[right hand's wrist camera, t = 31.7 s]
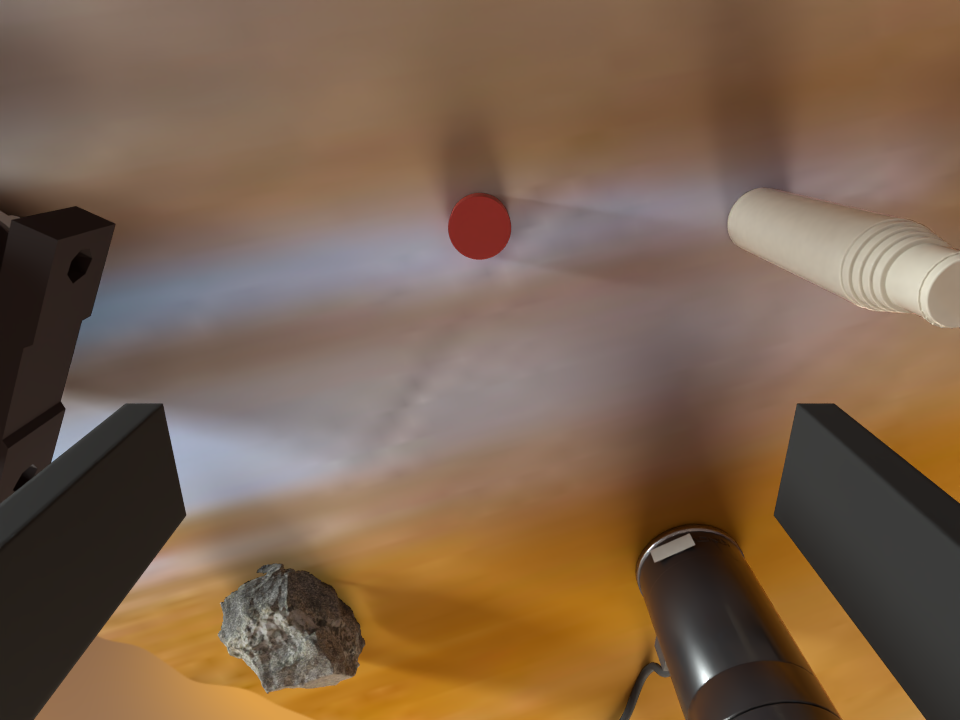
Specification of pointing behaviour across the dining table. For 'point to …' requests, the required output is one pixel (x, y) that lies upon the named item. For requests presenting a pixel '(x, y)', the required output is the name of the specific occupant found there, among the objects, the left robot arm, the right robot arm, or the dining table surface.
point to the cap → (479, 226)
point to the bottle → (852, 253)
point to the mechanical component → (42, 328)
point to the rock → (291, 630)
